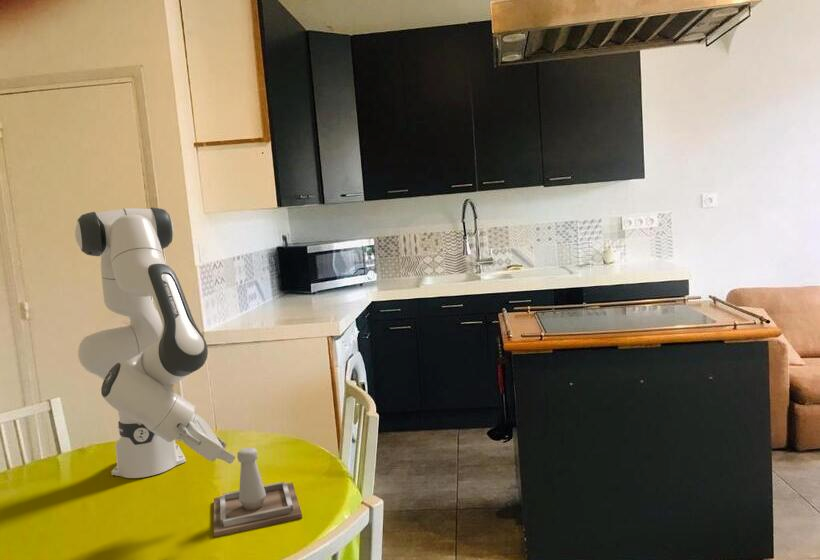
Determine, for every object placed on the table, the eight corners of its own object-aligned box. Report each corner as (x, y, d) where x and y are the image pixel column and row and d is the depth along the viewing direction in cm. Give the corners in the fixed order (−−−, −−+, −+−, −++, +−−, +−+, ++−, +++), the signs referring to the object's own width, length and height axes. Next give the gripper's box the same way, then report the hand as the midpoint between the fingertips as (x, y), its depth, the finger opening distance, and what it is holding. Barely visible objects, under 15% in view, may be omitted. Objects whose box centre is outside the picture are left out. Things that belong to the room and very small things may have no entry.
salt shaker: (260, 512, 145) (253, 454, 144) (235, 512, 146) (228, 454, 145) (271, 500, 151) (264, 444, 149) (247, 500, 152) (240, 445, 150)
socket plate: (214, 502, 155) (213, 493, 155) (292, 486, 160) (291, 477, 160) (214, 537, 138) (213, 526, 138) (302, 518, 143) (301, 508, 142)
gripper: (192, 419, 132) (248, 455, 137) (178, 396, 150) (228, 428, 155) (171, 446, 130) (228, 481, 135) (160, 420, 148) (210, 452, 154)
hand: (228, 453), depth 145 cm, fingers open, 8 cm apart
